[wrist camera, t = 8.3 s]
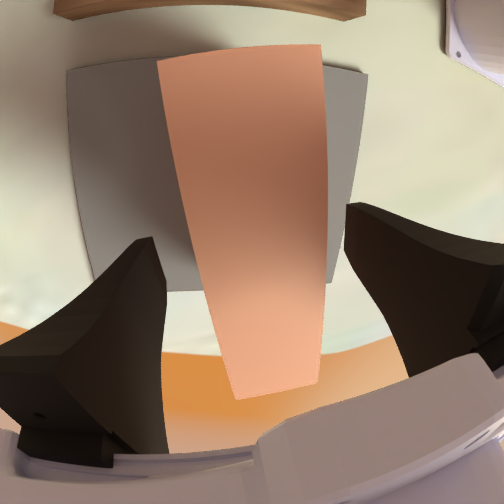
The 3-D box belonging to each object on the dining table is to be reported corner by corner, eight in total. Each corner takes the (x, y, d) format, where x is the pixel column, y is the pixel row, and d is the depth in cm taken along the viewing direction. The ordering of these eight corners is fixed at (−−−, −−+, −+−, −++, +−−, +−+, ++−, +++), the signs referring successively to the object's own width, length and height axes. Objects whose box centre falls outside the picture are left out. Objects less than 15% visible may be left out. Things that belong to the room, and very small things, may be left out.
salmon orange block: (253, 63, 13) (320, 44, 5) (273, 264, 19) (317, 382, 12) (182, 73, 13) (156, 60, 5) (218, 274, 19) (235, 400, 12)
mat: (364, 74, 14) (368, 74, 14) (328, 278, 21) (331, 283, 21) (70, 70, 12) (66, 70, 11) (100, 288, 19) (98, 292, 18)
